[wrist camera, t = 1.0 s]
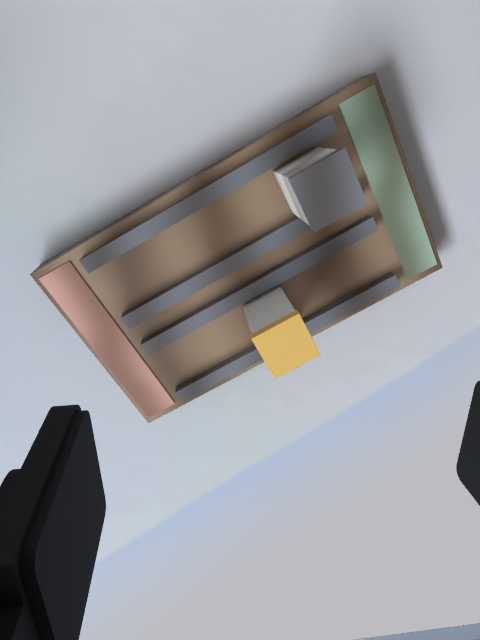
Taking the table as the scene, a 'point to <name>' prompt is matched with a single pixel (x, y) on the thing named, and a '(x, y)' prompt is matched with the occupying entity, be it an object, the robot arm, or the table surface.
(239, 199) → the board
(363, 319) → the table surface
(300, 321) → the block
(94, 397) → the table surface
